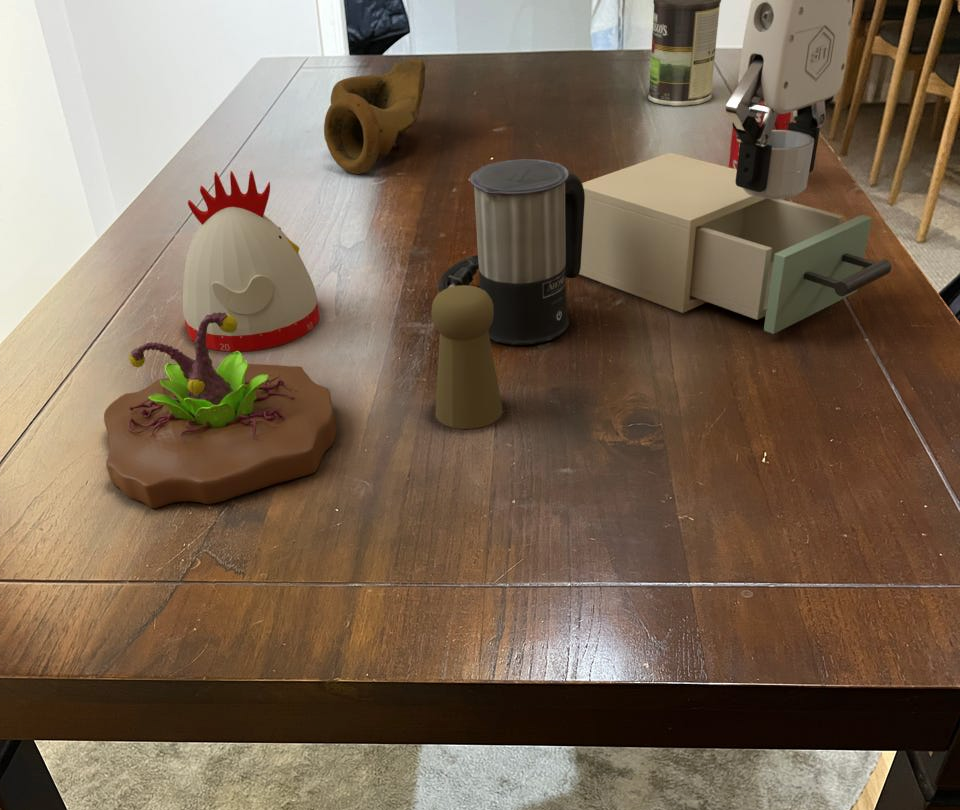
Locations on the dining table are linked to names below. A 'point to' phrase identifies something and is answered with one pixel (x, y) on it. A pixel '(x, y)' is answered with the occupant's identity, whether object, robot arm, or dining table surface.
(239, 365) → the plant
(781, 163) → the bowl
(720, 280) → the drawer
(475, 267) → the milk frother
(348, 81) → the brown looped sculpture
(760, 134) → the robot arm
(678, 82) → the coffee can
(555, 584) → the dining table surface
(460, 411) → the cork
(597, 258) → the beige storage cabinet
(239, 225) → the kitchen timer
